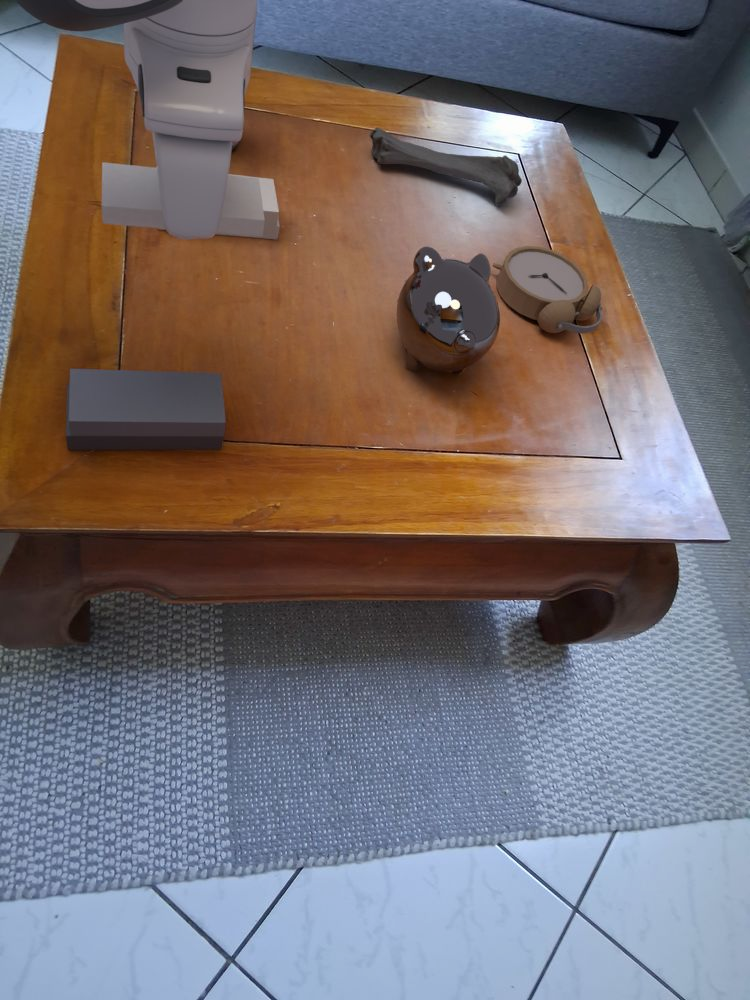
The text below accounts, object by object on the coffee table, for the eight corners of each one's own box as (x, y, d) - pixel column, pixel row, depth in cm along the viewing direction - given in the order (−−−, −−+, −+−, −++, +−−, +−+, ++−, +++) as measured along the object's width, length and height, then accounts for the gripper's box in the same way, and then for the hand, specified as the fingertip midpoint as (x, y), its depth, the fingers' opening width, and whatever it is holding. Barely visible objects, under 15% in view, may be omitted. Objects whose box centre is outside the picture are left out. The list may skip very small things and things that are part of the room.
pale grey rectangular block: (102, 224, 62) (101, 205, 60) (103, 180, 65) (102, 161, 63) (262, 237, 66) (264, 219, 64) (256, 195, 68) (259, 177, 67)
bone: (512, 189, 111) (530, 152, 106) (512, 216, 107) (530, 179, 102) (367, 144, 108) (378, 103, 103) (361, 170, 104) (372, 128, 99)
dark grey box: (67, 450, 70) (63, 421, 66) (68, 398, 73) (65, 368, 69) (222, 449, 74) (226, 422, 71) (217, 401, 77) (221, 372, 74)
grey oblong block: (157, 229, 88) (157, 200, 85) (155, 195, 91) (156, 166, 88) (277, 239, 92) (282, 212, 89) (272, 206, 95) (276, 179, 92)
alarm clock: (542, 236, 101) (630, 295, 95) (531, 268, 105) (615, 327, 98) (484, 258, 96) (573, 322, 89) (475, 291, 99) (560, 355, 93)
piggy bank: (463, 309, 94) (498, 234, 85) (486, 405, 86) (528, 334, 77) (376, 300, 91) (403, 221, 82) (392, 398, 83) (424, 323, 74)
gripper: (140, -41, 58) (142, 127, 69) (145, 124, 48) (147, 289, 59) (224, -26, 60) (213, 135, 71) (246, 136, 50) (229, 293, 61)
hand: (183, 206), depth 65 cm, fingers closed on pale grey rectangular block, 5 cm apart
